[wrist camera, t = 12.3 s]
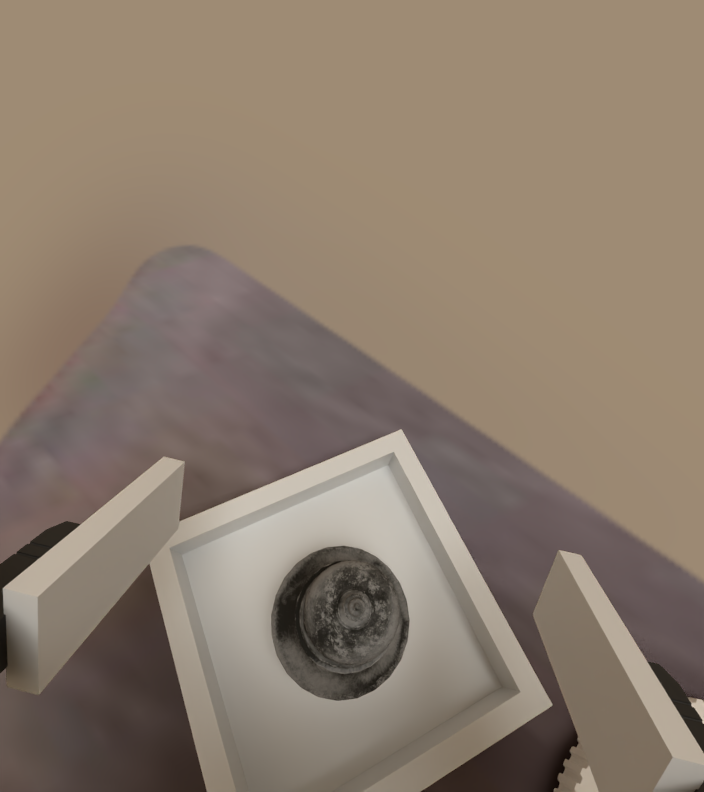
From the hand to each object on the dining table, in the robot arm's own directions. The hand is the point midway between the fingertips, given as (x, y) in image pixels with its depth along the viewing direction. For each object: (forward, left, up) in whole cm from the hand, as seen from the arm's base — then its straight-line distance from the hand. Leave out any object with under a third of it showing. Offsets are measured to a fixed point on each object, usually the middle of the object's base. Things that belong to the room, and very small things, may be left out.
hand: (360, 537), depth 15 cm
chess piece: (-2, +1, -9) cm, 9 cm away
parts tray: (-2, +1, -10) cm, 10 cm away
